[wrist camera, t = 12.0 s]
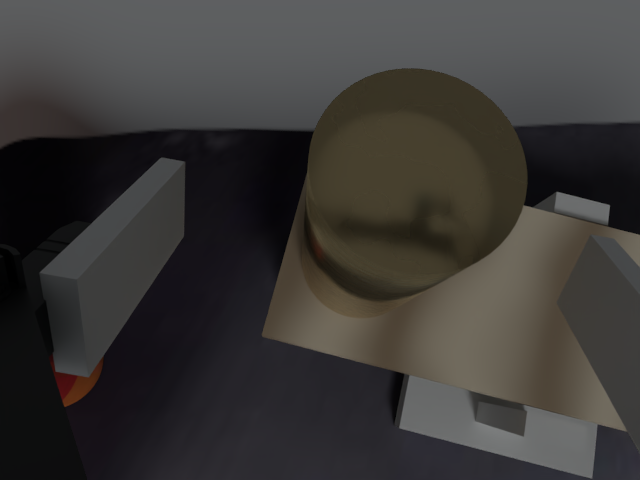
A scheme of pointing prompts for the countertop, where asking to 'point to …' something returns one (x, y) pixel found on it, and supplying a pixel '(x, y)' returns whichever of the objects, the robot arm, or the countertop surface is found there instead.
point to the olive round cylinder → (406, 189)
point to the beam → (470, 320)
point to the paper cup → (75, 383)
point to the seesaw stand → (501, 415)
